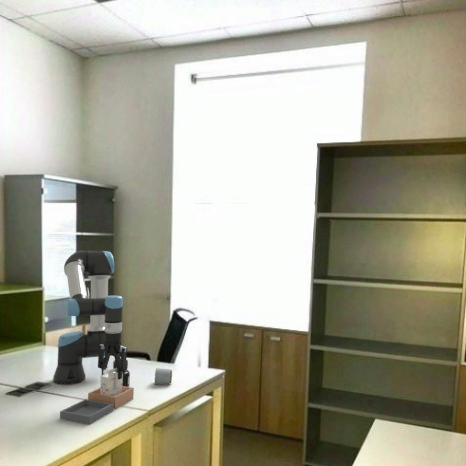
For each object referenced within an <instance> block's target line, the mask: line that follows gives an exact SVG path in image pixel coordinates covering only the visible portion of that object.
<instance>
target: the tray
mask: <svg viewBox="0 0 466 466" xmlns="http://www.w3.org/2000/svg"><path fill="white" fill-rule="evenodd" d="M113 406H114V404H111V403H105V402H99V401H93V400H88V399H83V400H80V401H79V402H76V403H74V404H73V405H71V406H69V407H67V408H64V409H62V410H60V412H59V420H63V421H69V422H74V423H80V424H85V425H92V424H94V423H95V422H97V421H98V420H100V419H102V418H104V417H105V416H107V415H109V414H111V413H112V412H114V409H113Z"/></svg>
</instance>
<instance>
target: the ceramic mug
mask: <svg viewBox="0 0 466 466" xmlns="http://www.w3.org/2000/svg"><path fill="white" fill-rule="evenodd" d="M172 378H173V370H172V369H170V368H163V367H162V368H160V367H156V369H155V373H154V385H171V384H172V381H173V379H172Z"/></svg>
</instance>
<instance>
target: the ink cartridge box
mask: <svg viewBox="0 0 466 466" xmlns="http://www.w3.org/2000/svg"><path fill="white" fill-rule="evenodd" d="M115 370H116V371H117V368H114V369H113V368H112V369H111V368H110V369H108V374H106V375H102V374H101V375H100V387H101V388H100V387H99V388H100V394H102V395H109V396H117V395H119V394H121V393H122V383H123V373H122V379H121V382H120V386H119V387H117V388H116V387H115V379H116V372H113V371H115Z"/></svg>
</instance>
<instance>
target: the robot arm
mask: <svg viewBox="0 0 466 466" xmlns="http://www.w3.org/2000/svg"><path fill="white" fill-rule="evenodd" d="M114 259H115V258H114V256H113V254H112V252H110V251H108V250H107V251H106V250H78V251H76V252H73V254H70V255H69V256H68V258H67V259H66V260H65V262H64V265H63V271H64V275H65V276H66V279H67V284H68V285H67V286H68V294H69V298H68V299H67V300H66V307H65V308H66V309H65V311H66V313H65V314H66V315H67V316H68V317H86V316H90V324H89V325H90V326H89V328H88V329H87V331H86V333H84V331H70V332H65V333H63V334H61V335H60V336H59V337H58V342H57V366H56V369H55V371H54V374H53V378H52V380H53V381H52V382H53V383H54V384H55V385H56V384H57V385H65V386H66V385H74V384H79V383H83V382H84V381H86V372H85V368H84V365H83V359H88V358H97V360H98V361H97V368H99V369H101V376H102V375H106V374H108V370H109V368H108V365H109V361H110V357H111V355H113V358H114V361H115V362H116V367H117V371H116V379H115V387H116V388H117V387H119V386H120V382H121V379H122V371H124V370H126V369H127V370H128V368H127V364H126V360H127V352H128V347H127V346H123V344H122V340H123V332H122V330H123V307H124V301H123V297H122V295H115V294H114V295H109V288H108V287H109V279H110V278H111V277H112V274H114V272H115V260H114ZM84 274H87V278H88V279H89V280H90V298H89V297H88V293H87V287H86V281H85V276H84Z"/></svg>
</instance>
